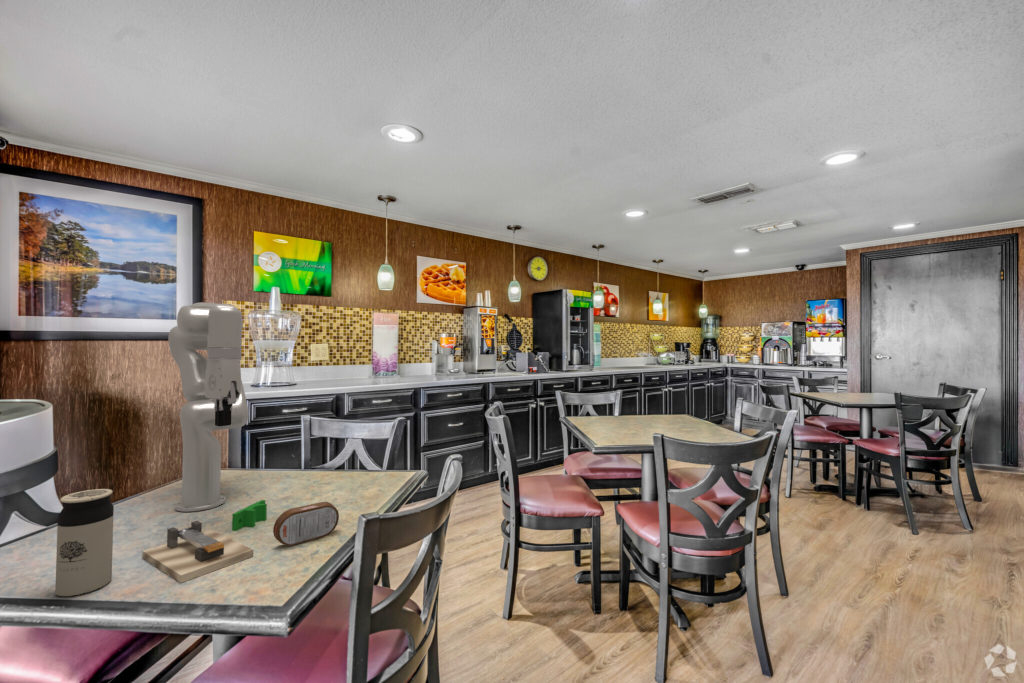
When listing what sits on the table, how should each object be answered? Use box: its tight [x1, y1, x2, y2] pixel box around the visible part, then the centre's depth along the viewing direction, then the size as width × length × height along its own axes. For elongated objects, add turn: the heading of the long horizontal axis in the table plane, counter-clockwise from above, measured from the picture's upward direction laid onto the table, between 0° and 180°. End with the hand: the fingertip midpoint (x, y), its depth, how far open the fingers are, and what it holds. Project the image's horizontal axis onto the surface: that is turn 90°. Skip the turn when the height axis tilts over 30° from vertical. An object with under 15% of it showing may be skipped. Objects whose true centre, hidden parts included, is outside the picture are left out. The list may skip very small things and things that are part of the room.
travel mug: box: [54, 488, 115, 597], centre depth 88 cm, size 8×8×18 cm
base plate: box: [141, 520, 254, 584], centre depth 100 cm, size 20×14×6 cm
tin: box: [272, 501, 340, 547], centre depth 110 cm, size 15×3×8 cm, turn 135°
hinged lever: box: [178, 526, 224, 553], centre depth 100 cm, size 16×3×1 cm, turn 57°
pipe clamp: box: [231, 499, 268, 532], centre depth 120 cm, size 11×4×5 cm, turn 173°
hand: (223, 425), depth 116 cm, fingers closed
